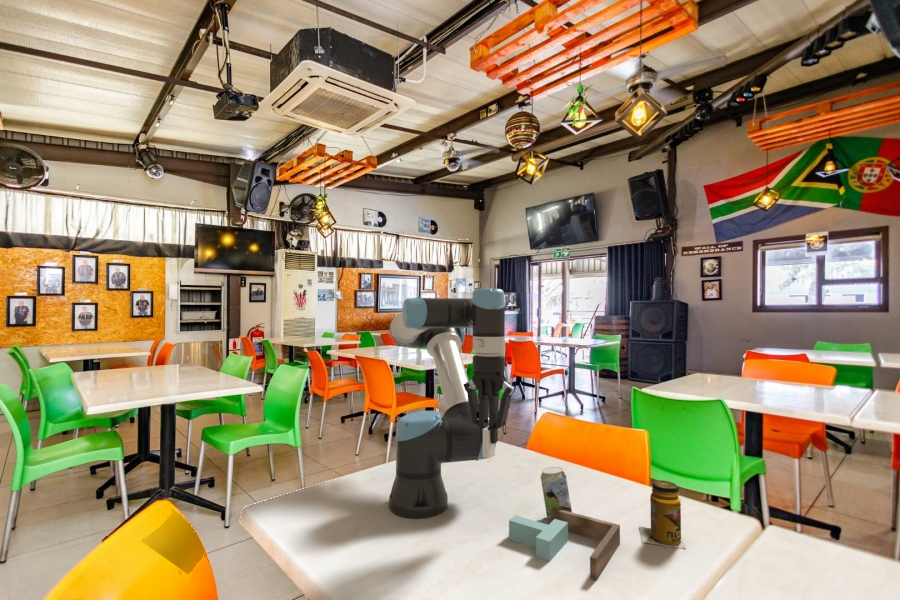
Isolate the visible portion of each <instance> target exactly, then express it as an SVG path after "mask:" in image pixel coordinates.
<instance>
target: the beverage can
mask: <svg viewBox="0 0 900 600" xmlns="http://www.w3.org/2000/svg"><path fill="white" fill-rule="evenodd" d="M566 474H567V473H565V472H564V470H563V468H562V467H560V466H552V467H546V468H544V469H542V471H541V474H540V481H541V482H540V483H541V487H542V492H543V493H542V494H543V499H544V500H543V501H544V504H545V505H544V507H545V512H546V517H547V519H548V520H550V521H551V522H552V509H553V508H557V509H561V510H565V511H569V512H572V505H571V503H572V502H571V499H570V498H571V497H570V492H569V491H570V490H569V486H568V479H567V475H566ZM572 513H573V512H572Z"/></svg>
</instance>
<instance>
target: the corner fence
mask: <svg viewBox="0 0 900 600" xmlns="http://www.w3.org/2000/svg"><path fill="white" fill-rule="evenodd" d="M554 519H557V520H561V521H564V522H568V533H572V534H575V535H579V536H583V537H586V538H589V539H593V540H595V541H599V544H598V545H597V546H596V548H595V549H594V551H593V552H592V554H591V555H590V556H589V577H590V578H589V579H591V580H594V581H596V582H597V581H598V579H599V578H600V576H601V574H602V573H603V572H604V570H605V568H606V566H607V565H608V564H609V562H610V560H611V559H612V557H613V555H614V554H615V552H616V551H617V550H618V548H619V547H620V545H621V525H620V524H617V523H614V522H610V521H606V520H601V519H598V518H594V517H591V516H587V515H584V514H579V513H575V512H569V511H565V510H561V509H557V508H553V509H552V521H553V520H554ZM552 521H551V522H552Z"/></svg>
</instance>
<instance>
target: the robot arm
mask: <svg viewBox="0 0 900 600" xmlns="http://www.w3.org/2000/svg"><path fill="white" fill-rule="evenodd" d="M505 299H506V298H505V291H504V289H501V288H475V289H474V290H473V292H472V297H471V298H470V297H469V298H463V297H462V298H460V297H458V298H455V297H453V298H452V297H451V298H449V297H446V298H443V297H442V298H441V297H440V298H439V297H437V298H436V297H435V298H434V297H433V298H432V297H418V296H417V297H409V298H406V299H404V301H403V304H402V310H401V311H402V312H401V313H398V314H397V315H396V316H394V317H393V319H392V320H391V322H390V324H389V328H388V329H389V334H390V337H391V338H392V339H393V340H394V342H396V343H397V344H399V345H401V346H403V347H406V348H411V349H426V351H427V353H428V355H429V356H431V357H432V358H433V361H434V365H435V369H436V374H437V376H438V377H437V378H438V381H439V385H440V390H441V394H442V397H443V402H444V406H445V411H444V412H443V415H442V414H441V412H439V411H437V410H420V411H414V412H411V413H407V414H405V415H403V416H402V417H400V418H399V419H398V420H397V423H396V431H395V441H396V442H395V445H396V446H395V447H396V448H395V450H396V451H395V464H396V465H395V477H394V480H393V484H392V487H391V491H390V493H389V498H388V509H389V511H390V512H392V513H393V514H395V515H397V516H400V517H404V518H409V519H421V518H422V519H423V518H430V517H434V516H437V515H440V514H441V513H442V512H445V510H447V508H448V505H449V504H448V503H449V501H448V500H449V499H448V498H449V497H448V493H447V491H446V488H445V483H444V480H443V477H442V464H447V463H459V462H467V461H468V462H469V461H477V462H478V461H479V460H486V459H489V460H490V459H491V458H493V457H495V456H496V455H495V454H496V453H495V452H496V445H497V443H498V441H499V437H498V436H499V435H498V433H499V432H498V431H499V429H500V428H503V427H505V426H506V424H507V418H508V414H509V411H510V410H509V409H510V405H511V399H512V396H513V394H514V393H515V392H516V386H514V385H511V384H509V383H508V382H507V378H506V376H505V370H506V368H505V367H506V357H505V356H504V355H503V354H504V353H506V339H505V338H506V336H505V333H506V329H505V328H506V323H505V321H506V319H505V318H506V316H505V315H506V314H505V312H506V300H505ZM465 329H472V353H473V354H474V355H473V356H472V372H473V374H472V376H471V379H470V380H469V376H468V374H467V371H466V368H465V365H464V362H463V358H462V355H461V352H460V350H461V348H462V346H463V345H464V342H465V335H466V334H465V331H464V330H465ZM501 390H502V391H501ZM500 392H502V395H501V398H500ZM499 399H501V400H500V401H499ZM499 402H500V403H499Z"/></svg>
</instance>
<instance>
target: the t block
mask: <svg viewBox="0 0 900 600" xmlns="http://www.w3.org/2000/svg"><path fill="white" fill-rule="evenodd" d="M508 539H509V540H512V541H516V542H518V543H522V544H525V545H528V546H531V547H534V548H535V558H537V559H541V560H543V561H547V562H551V561H552V560H553V559H554V558H555V557H556V555H558V554H559V552H560V551H561V550H562V549H563V548H564V546H565V545H566V544H567V543H568V541H569V532H568V522H564V521H561V520H557V519H554V520H553V521H551V522H550V523H549V524H547V523H543V522H539V521H537V520H534V519H533V520H532V519H530V518H526V517H522V516H519V515H514V516H512V517H511V518H510V519H509V520H508Z"/></svg>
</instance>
